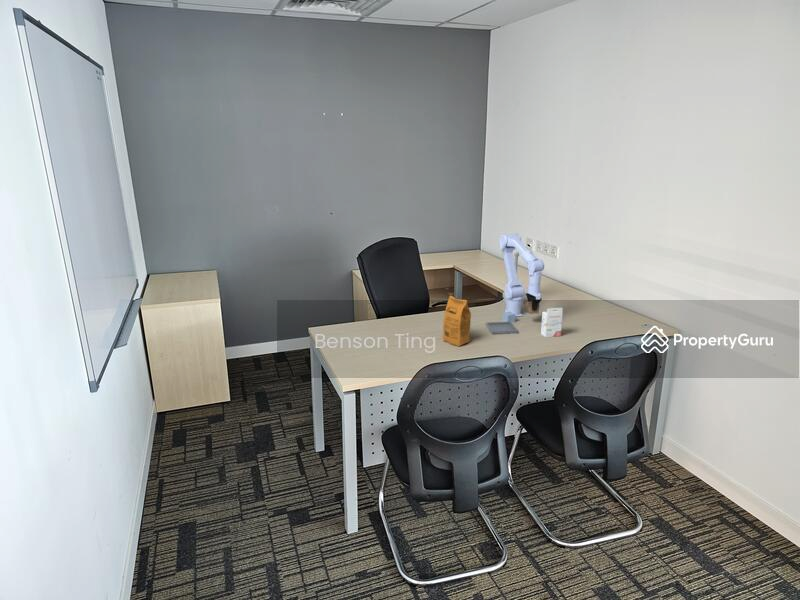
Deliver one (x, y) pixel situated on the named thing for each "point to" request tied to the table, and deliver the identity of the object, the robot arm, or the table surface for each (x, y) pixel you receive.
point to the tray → (501, 327)
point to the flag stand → (516, 271)
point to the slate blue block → (509, 317)
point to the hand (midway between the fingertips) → (532, 308)
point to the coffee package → (456, 322)
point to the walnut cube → (529, 309)
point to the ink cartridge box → (552, 322)
